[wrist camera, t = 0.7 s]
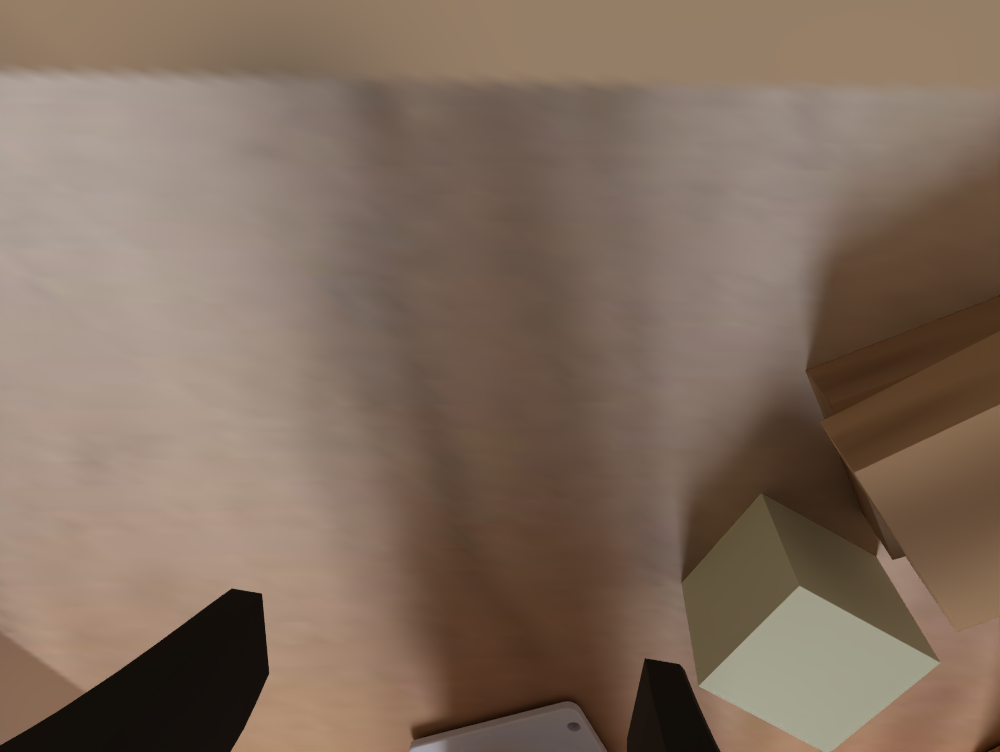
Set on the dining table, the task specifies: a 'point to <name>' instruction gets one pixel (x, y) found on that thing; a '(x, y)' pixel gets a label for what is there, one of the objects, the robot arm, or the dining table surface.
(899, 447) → the tower top
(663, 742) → the robot arm
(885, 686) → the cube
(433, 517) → the dining table surface
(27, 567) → the dining table surface
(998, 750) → the sprinkles bottle
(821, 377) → the tower bottom
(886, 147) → the dining table surface
